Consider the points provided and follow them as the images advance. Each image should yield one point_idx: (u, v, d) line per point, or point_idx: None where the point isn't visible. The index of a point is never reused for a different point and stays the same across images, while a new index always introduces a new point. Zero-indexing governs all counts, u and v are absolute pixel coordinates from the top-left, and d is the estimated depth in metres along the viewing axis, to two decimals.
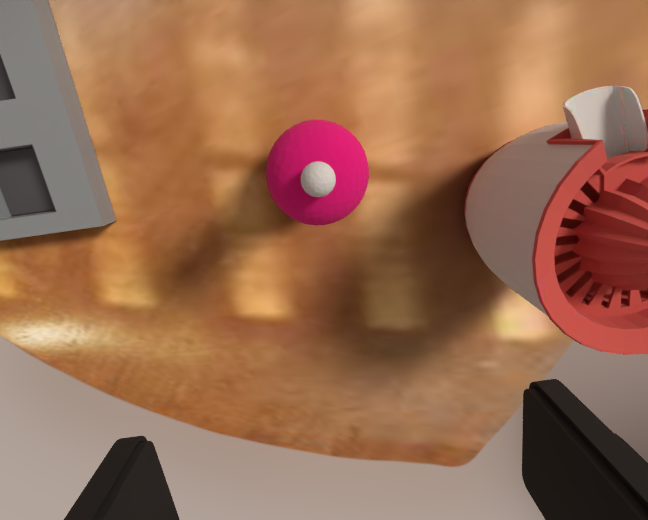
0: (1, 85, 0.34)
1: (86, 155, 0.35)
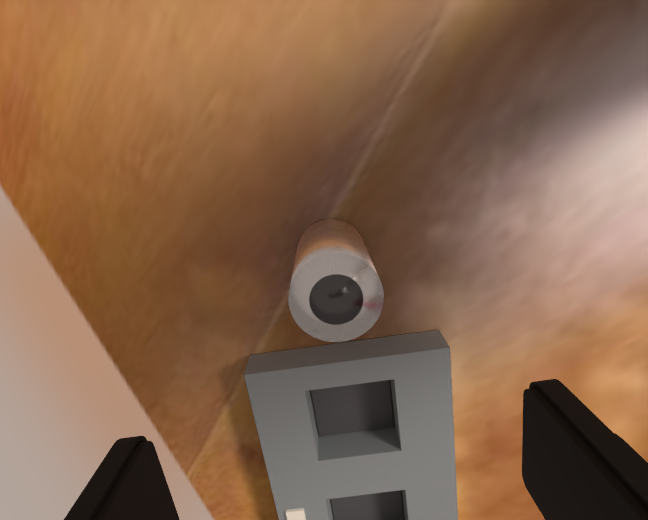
0: (362, 414, 0.30)
1: None
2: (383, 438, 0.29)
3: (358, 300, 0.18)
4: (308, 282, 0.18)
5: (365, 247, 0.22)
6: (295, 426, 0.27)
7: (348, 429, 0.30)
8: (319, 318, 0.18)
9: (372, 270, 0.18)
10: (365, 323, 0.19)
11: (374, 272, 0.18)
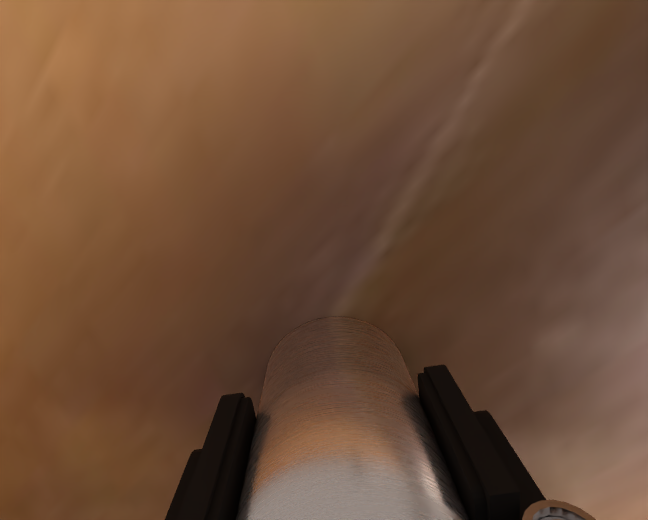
0: None
1: None
2: None
3: None
4: None
5: (424, 415, 0.09)
6: None
7: None
8: None
9: None
10: None
11: None
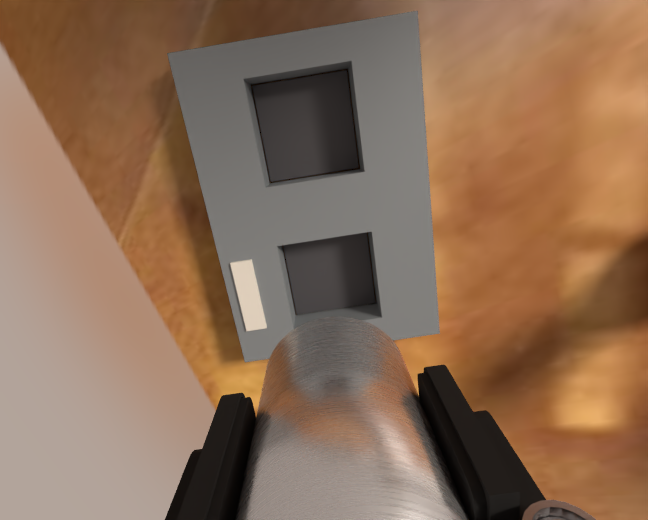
0: (320, 149, 0.25)
1: None
2: (345, 172, 0.25)
3: None
4: None
5: (424, 414, 0.09)
6: (235, 135, 0.22)
7: (304, 171, 0.25)
8: None
9: None
10: None
11: None
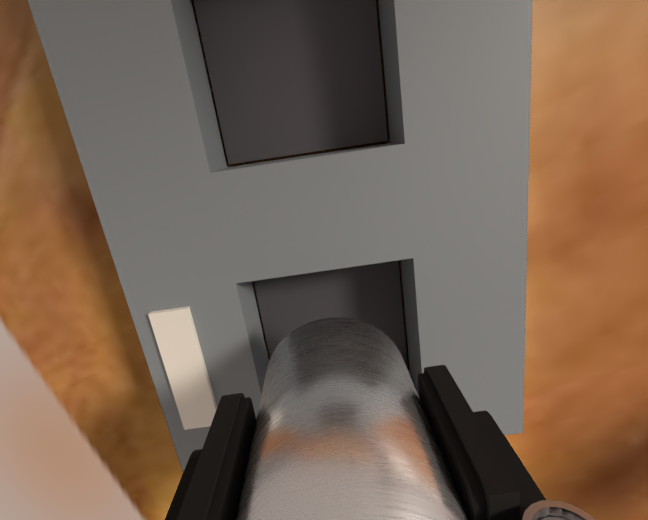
0: (318, 104, 0.14)
1: None
2: (364, 148, 0.13)
3: None
4: None
5: (424, 416, 0.09)
6: (145, 63, 0.11)
7: (289, 145, 0.14)
8: None
9: None
10: None
11: None
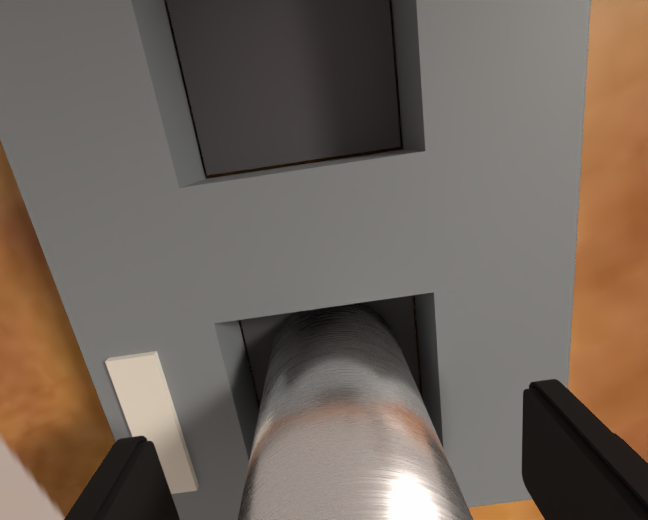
0: (315, 103, 0.11)
1: None
2: (372, 155, 0.11)
3: None
4: None
5: (413, 381, 0.10)
6: (92, 48, 0.09)
7: (281, 153, 0.12)
8: None
9: None
10: None
11: None
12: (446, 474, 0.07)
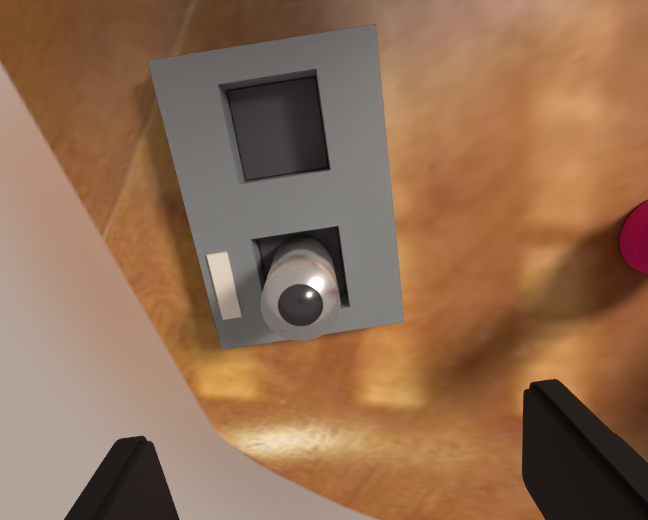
0: (291, 149, 0.27)
1: None
2: (314, 171, 0.27)
3: (319, 305, 0.22)
4: (276, 291, 0.21)
5: (330, 260, 0.26)
6: (210, 135, 0.24)
7: (277, 170, 0.27)
8: (287, 321, 0.22)
9: (329, 280, 0.21)
10: (325, 325, 0.22)
11: (331, 282, 0.21)
12: (328, 270, 0.23)
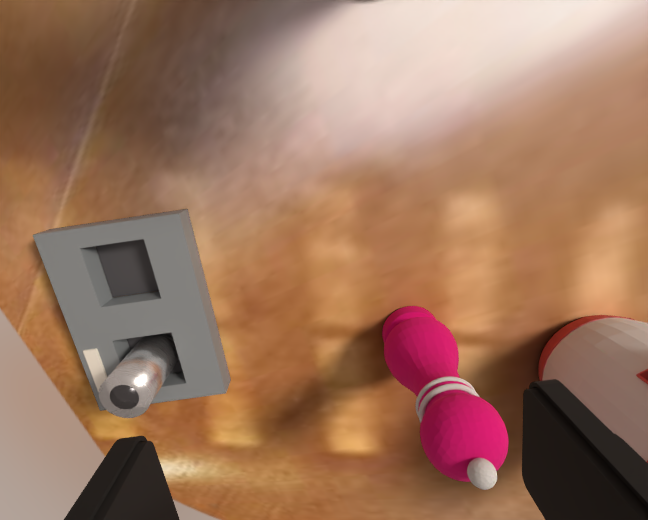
0: (142, 278, 0.40)
1: (214, 336, 0.40)
2: (155, 294, 0.39)
3: (136, 397, 0.35)
4: (108, 388, 0.34)
5: (164, 356, 0.39)
6: (78, 278, 0.37)
7: (133, 291, 0.40)
8: (117, 406, 0.35)
9: (141, 382, 0.34)
10: (142, 408, 0.35)
11: (142, 383, 0.34)
12: (147, 372, 0.35)
